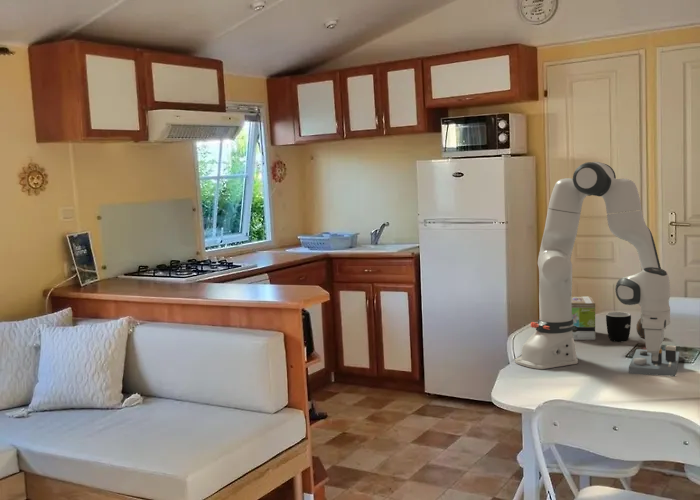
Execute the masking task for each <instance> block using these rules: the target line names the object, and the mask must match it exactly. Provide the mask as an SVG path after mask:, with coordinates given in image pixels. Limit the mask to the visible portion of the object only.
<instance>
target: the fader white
mask: <svg viewBox="0 0 700 500" xmlns="http://www.w3.org/2000/svg"><path fill="white" fill-rule="evenodd" d="M665 351H666V360H667V361H676V352H677V345H665Z"/></svg>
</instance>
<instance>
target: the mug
mask: <svg viewBox="0 0 700 500" xmlns="http://www.w3.org/2000/svg"><path fill="white" fill-rule="evenodd" d="M605 321H606V322H605V323H606V330H607V336H608V339H609V341H610V342H614V343H624V342H627V341H628V340H629V338H630V335H631V328H632V327H631V326H632V325H631V324H632V315H631V313H630V312H625V311H611V312H607V313H606V314H605Z"/></svg>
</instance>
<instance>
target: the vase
mask: <svg viewBox="0 0 700 500" xmlns="http://www.w3.org/2000/svg"><path fill="white" fill-rule="evenodd" d="M636 334H637V335H638V336H639V337H640V338H643V339H645V333H644V328H642V324H641V317H640V318H639V319H638V320H637V322H636Z"/></svg>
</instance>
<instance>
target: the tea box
mask: <svg viewBox="0 0 700 500" xmlns="http://www.w3.org/2000/svg"><path fill="white" fill-rule="evenodd" d="M572 319H573V324H574V325H573V330H572V332H573V338H574V341H575V340H576V341H579V340H580V341H581V340H582V341H591V340H593V341H594V340H596V302H595V301H594V299H593V298H592V296H572Z"/></svg>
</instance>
